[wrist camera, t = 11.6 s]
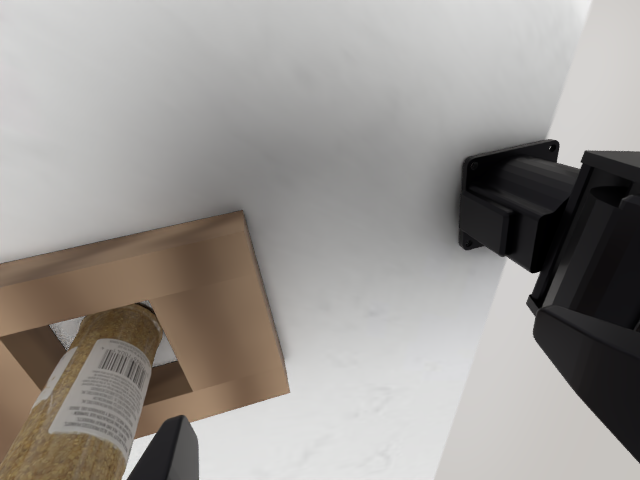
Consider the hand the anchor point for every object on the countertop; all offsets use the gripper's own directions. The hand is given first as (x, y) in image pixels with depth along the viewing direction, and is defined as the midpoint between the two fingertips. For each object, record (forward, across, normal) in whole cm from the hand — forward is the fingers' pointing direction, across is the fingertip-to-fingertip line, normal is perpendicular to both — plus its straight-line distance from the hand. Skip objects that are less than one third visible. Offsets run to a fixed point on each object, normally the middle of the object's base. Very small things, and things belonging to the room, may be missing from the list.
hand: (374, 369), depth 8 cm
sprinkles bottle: (+13, +12, +6) cm, 19 cm away
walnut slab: (+13, +12, +6) cm, 19 cm away
